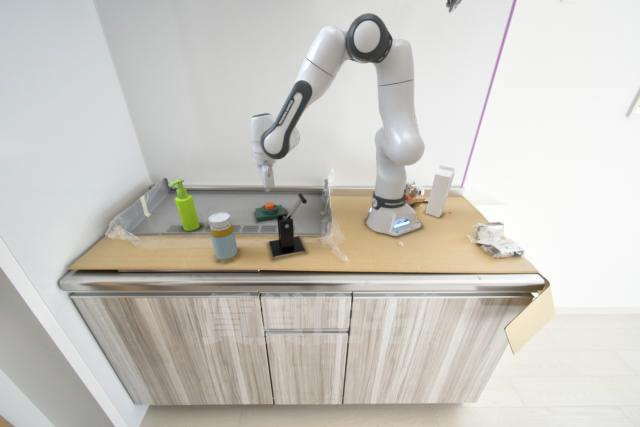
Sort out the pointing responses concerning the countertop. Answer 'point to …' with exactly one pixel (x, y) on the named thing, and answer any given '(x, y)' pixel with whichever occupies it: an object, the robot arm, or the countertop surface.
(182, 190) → the soap dispenser
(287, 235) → the bracket
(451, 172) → the milk
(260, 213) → the button block
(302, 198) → the lever
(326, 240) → the countertop surface
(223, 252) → the bottle
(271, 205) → the button
